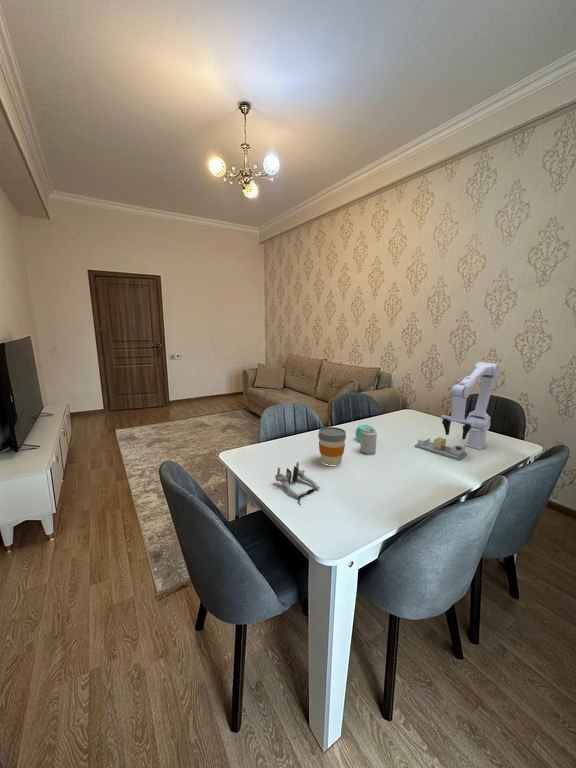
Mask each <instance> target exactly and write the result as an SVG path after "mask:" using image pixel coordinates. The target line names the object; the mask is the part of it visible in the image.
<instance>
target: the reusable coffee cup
mask: <svg viewBox="0 0 576 768" xmlns="http://www.w3.org/2000/svg"><path fill="white" fill-rule="evenodd" d="M318 430H319V431H318V434H317V435H318V436H317V438H318V449H319V453H320V460H321V463H322V462H323V463H325V464H328V465H339V464H340V463H341V464H342V459H343V455H344V453H345V448H346V447H345V446H346V439H347V434H346V430H345V429H343V428H340V427H335V426H327V427H326V426H325V427H321V428H320V429H318ZM323 463H322V464H323ZM341 464H340V465H341ZM340 465H339V466H340Z"/></svg>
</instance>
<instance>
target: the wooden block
mask: <svg viewBox="0 0 576 768" xmlns="http://www.w3.org/2000/svg"><path fill="white" fill-rule="evenodd" d="M433 442H434V443H433V449H435V450H438V451H442V450H443V449H445V446H447V444H446V443H447V439H446V438H444V437H440V436H439V437H437V438H434V439H433Z"/></svg>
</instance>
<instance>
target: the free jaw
mask: <svg viewBox="0 0 576 768" xmlns="http://www.w3.org/2000/svg"><path fill="white" fill-rule="evenodd" d="M465 449H466V447H465V446H461V445H457V444H456V445H454V446H451V449H450V454H452V455H455V456H458V457H459V456H461V455H462V454H464V451H465ZM465 452H466V451H465Z"/></svg>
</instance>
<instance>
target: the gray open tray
mask: <svg viewBox="0 0 576 768" xmlns="http://www.w3.org/2000/svg"><path fill="white" fill-rule="evenodd" d="M433 443H434V441H431V437H428V436H423V437H421V438H419V439H418V440H417V443H416V444H415V445H414V448H417V449H421V450H422V451H426V452H430V453H432V454H436V455H439V456H441V457H442V456H443V457H446V458H449V459H452V460H455V461H461V460H463V459H464V458H465V457H467V456H468V455H469V454H468V452H466V451H464V454H462V455H461V456H459V457H458V456H455V455H452V454H450V449H451V448H452V446H448V445H446V446H445V449H443V450H442V451H438V450H435V449H433Z"/></svg>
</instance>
